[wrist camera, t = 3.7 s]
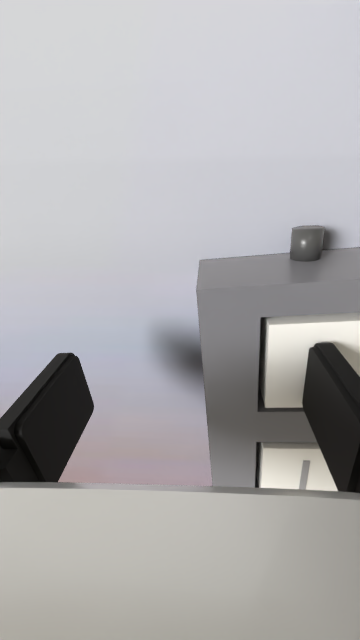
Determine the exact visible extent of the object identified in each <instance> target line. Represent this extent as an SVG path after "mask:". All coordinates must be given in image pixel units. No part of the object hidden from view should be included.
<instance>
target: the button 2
mask: <svg viewBox="0 0 360 640" xmlns="http://www.w3.org/2000/svg"><path fill="white" fill-rule="evenodd" d="M316 343H333V344H334V345H335V346H336V348H337V349H338V350H339V351H340V353H341V354H342V355H343V356H344V358H345V359H346V360H347V361H348V363H349V364H350V365H351V366H352V368H353V369H354V370H355V372H356V373H357V374H358V375H359V377H360V312H358V313H338V314H318V315H298V316H279V317H261V318H260V348H259V377H258V382H259V386H260V390H261V394H262V398H263V402H264V406H265V408H297V407H303V405H302V399H303V391H304V384H305V376H306V368H307V360H308V353H309V348H310V347H314V345H315V344H316Z"/></svg>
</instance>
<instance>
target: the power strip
mask: <svg viewBox="0 0 360 640" xmlns="http://www.w3.org/2000/svg"><path fill="white" fill-rule="evenodd" d="M324 230H325V227H323V226H299V227H295V228H292V235H291V248H290V253H282V254H269V255H257V256H244V257H232V258H219V259H207V260H200V261H199V270H198V279H197V288H196V292H197V304H198V316H199V328H200V341H201V353H202V365H203V377H204V389H205V401H206V413H207V425H208V437H209V450H210V462H211V474H212V486H220V487H250V488H259V486H258V480H257V474H256V468H255V467H256V442H304V443H317V440H316V438H315V436H314V433H313V431H312V429H311V426H310V424H309V422H308V419H307V417H306V415H305V412H304V410H303V407H297V408H265V406H264V402H263V398H262V394H261V390H260V386H259V382H258V377H259V348H260V318H261V317H279V316H298V315H318V314H338V313H358V312H360V247H356V248H344V249H331V250H322V245H323V237H324Z"/></svg>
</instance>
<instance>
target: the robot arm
mask: <svg viewBox="0 0 360 640" xmlns="http://www.w3.org/2000/svg"><path fill="white" fill-rule="evenodd" d="M302 405H303V410H304V412H305V415H306V417H307V419H308V422H309V424H310V426H311V429H312V431H313V433H314V436H315V438H316V440H317V443H318V445H319V447H320V450H321V452H322V454H323V457H324V459H325V461H326V464H327V466H328V469H329V471H330V473H331V476H332V478H333V480H334V483H335V485H336V487H337V490H338V491H323V490H303V489H281V488H250V487H220V486H187V485H150V484H111V483H63V482H58V480H59V478H60V476H61V474H62V472H63V470H64V468H65V466H66V464H67V462H68V460H69V458H70V456H71V454H72V452H73V451H74V449H75V447H76V445H77V443H78V441H79V439H80V437H81V435H82V433H83V431H84V429H85V427H86V425H87V423H88V421H89V419H90V417H91V415H92V413H93V409H94V404H93V400H92V397H91V394H90V391H89V388H88V385H87V382H86V379H85V376H84V373H83V370H82V367H81V364H80V361H79V358H78V357H77V356H75V355H74V354H73V353H59V354H57V355H56V356H55V357H54V358H53V360H52V361H51V362H50V363H49V364H48V365H47V366H46V367H45V369H44V370H43V371H42V372H41V373H40V374H39V375H38V376H37V378H36V379H35V380H34V381H33V382H32V383H31V384H30V386H29V387H28V388H27V389H26V390H25V391H24V392H23V393H22V395H21V396H20V397H19V398H18V399H17V400H16V401H15V402H14V404H13V405H12V406H11V407H10V408H9V409H8V410H7V412H6V413H5V414H4V415H3V416H2V417H1V418H0V640H360V377H359V375H358V374H357V373H356V372H355V370H354V369H353V368H352V366H351V365H350V364H349V363H348V361H347V360H346V359H345V358H344V356H343V355H342V354H341V353H340V351H339V350H338V349H337V348H336V346H335V345H334V344H333V343H316V344H315V345H314V347H310V348H309V353H308V360H307V368H306V376H305V384H304V391H303V399H302Z"/></svg>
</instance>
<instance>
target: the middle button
mask: <svg viewBox="0 0 360 640" xmlns="http://www.w3.org/2000/svg"><path fill="white" fill-rule="evenodd" d="M255 468H256V474H257V480H258V486H259V488H281V489H303V490H323V491H338V490H337V487H336V485H335V483H334V480H333V478H332V476H331V473H330V471H329V469H328V466H327V464H326V461H325V459H324V457H323V454H322V452H321V450H320V447H319V445H318V443H304V442H256V467H255Z"/></svg>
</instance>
